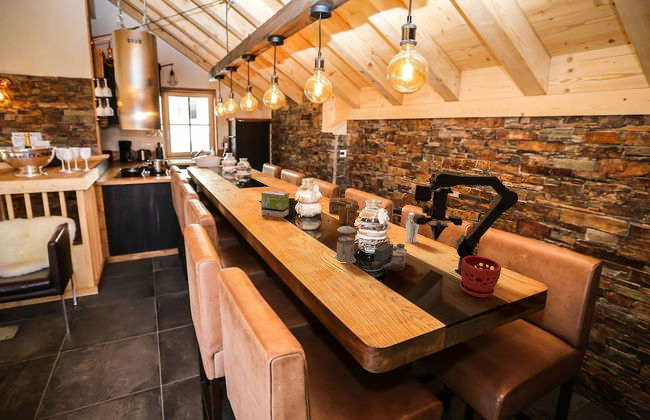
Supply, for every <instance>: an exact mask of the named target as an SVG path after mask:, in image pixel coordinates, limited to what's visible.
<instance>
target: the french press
mask: <svg viewBox="0 0 650 420" xmlns="http://www.w3.org/2000/svg"><path fill="white" fill-rule="evenodd" d="M346 207H347V208H350V205H346ZM347 220H348V211H347ZM337 232H338V233H341V234H345V235H342V236H339V237H337V241H336V256H334V258H335V259H336V260H338V261H340V262H346V263H351V264H354V263H356V261H357V259H356V258H355V249H356V247H355V246H356V242H355V238H354V237H352V236H348V235H349V234H353V233H356V232H357V230H356V229H355V228H353V226H350V225H343V226H340V227H338V228H337Z"/></svg>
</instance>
